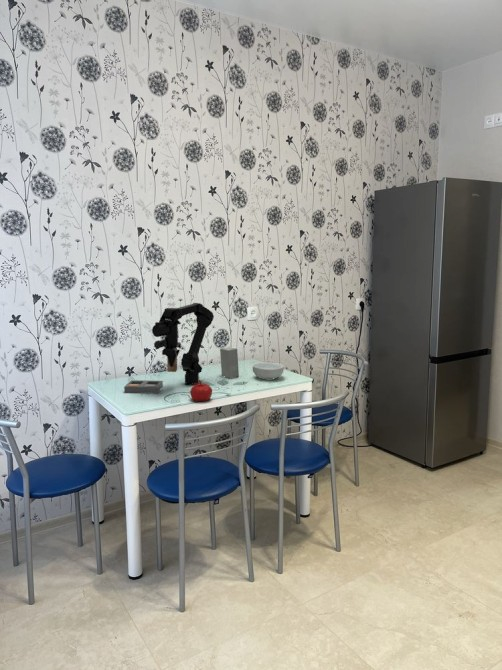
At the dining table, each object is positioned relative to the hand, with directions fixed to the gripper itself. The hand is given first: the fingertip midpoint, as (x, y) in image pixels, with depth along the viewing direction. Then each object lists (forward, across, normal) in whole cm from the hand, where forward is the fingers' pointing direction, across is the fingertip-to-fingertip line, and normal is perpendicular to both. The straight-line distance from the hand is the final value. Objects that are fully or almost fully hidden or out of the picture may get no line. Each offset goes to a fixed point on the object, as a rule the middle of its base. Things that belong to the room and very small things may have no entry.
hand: (172, 365), depth 246 cm
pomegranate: (+12, +16, +16) cm, 26 cm away
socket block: (+12, +1, -14) cm, 18 cm away
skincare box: (+12, -27, +26) cm, 39 cm away
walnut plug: (+2, 0, 0) cm, 2 cm away
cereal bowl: (+12, -25, +47) cm, 55 cm away
